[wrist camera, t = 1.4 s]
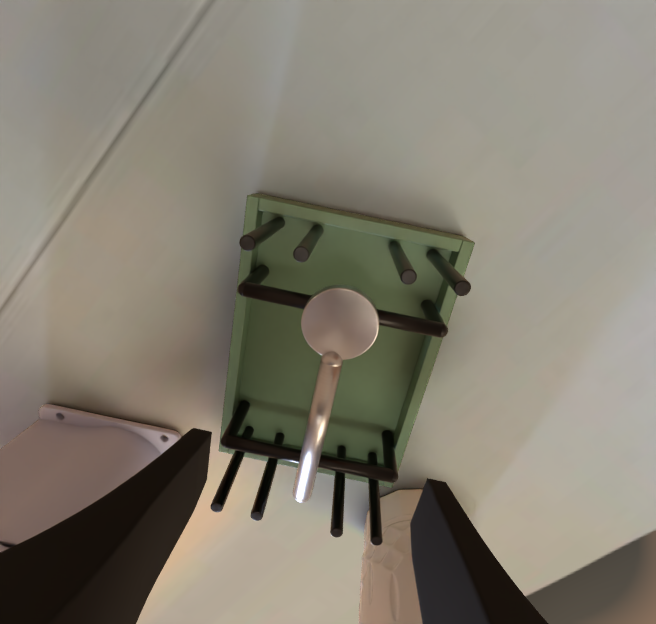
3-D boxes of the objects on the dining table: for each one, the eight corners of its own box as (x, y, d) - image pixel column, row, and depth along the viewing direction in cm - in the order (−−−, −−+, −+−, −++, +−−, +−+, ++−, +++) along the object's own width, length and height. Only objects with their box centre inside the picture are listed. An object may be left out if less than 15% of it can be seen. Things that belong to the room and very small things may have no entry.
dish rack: (384, 461, 24) (392, 549, 18) (236, 430, 24) (198, 508, 18) (450, 252, 19) (488, 285, 14) (264, 213, 19) (225, 230, 14)
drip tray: (390, 467, 25) (392, 488, 23) (227, 432, 25) (218, 451, 23) (465, 236, 19) (475, 242, 18) (256, 192, 19) (247, 194, 18)
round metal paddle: (332, 497, 21) (331, 513, 20) (271, 484, 21) (267, 500, 20) (387, 292, 16) (388, 300, 15) (309, 276, 16) (306, 283, 15)
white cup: (436, 463, 25) (484, 643, 15) (489, 540, 27) (561, 741, 17) (335, 507, 26) (322, 690, 17) (391, 576, 28) (408, 774, 19)
